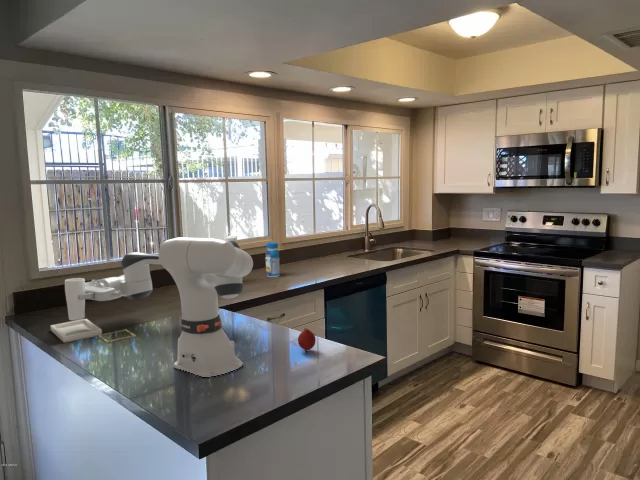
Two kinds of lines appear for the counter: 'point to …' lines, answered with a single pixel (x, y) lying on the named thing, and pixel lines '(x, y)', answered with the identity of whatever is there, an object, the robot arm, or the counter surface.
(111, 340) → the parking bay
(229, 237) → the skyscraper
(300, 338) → the onion
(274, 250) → the beverage bottle
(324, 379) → the counter surface
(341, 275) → the counter surface
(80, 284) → the drinking glass
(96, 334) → the tray
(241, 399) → the counter surface
